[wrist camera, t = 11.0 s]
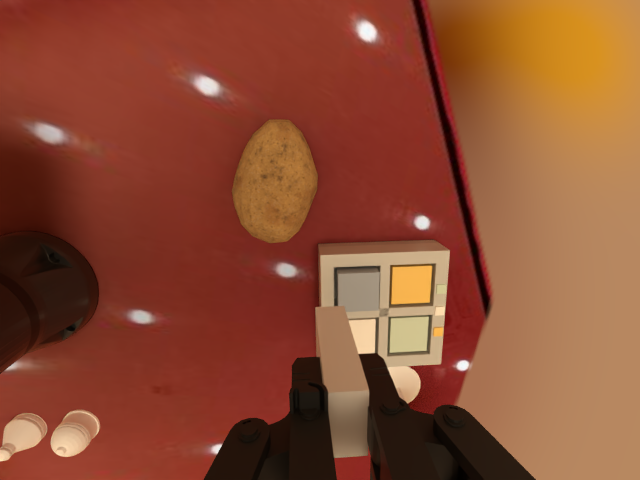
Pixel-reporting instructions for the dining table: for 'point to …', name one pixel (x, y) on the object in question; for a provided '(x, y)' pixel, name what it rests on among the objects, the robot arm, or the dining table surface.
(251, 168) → the potato
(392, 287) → the key amber
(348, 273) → the key slate
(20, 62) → the dining table surface
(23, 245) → the robot arm
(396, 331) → the key sage
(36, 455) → the dining table surface
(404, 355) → the keypad
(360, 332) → the key ivory
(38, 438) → the container set
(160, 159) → the dining table surface
